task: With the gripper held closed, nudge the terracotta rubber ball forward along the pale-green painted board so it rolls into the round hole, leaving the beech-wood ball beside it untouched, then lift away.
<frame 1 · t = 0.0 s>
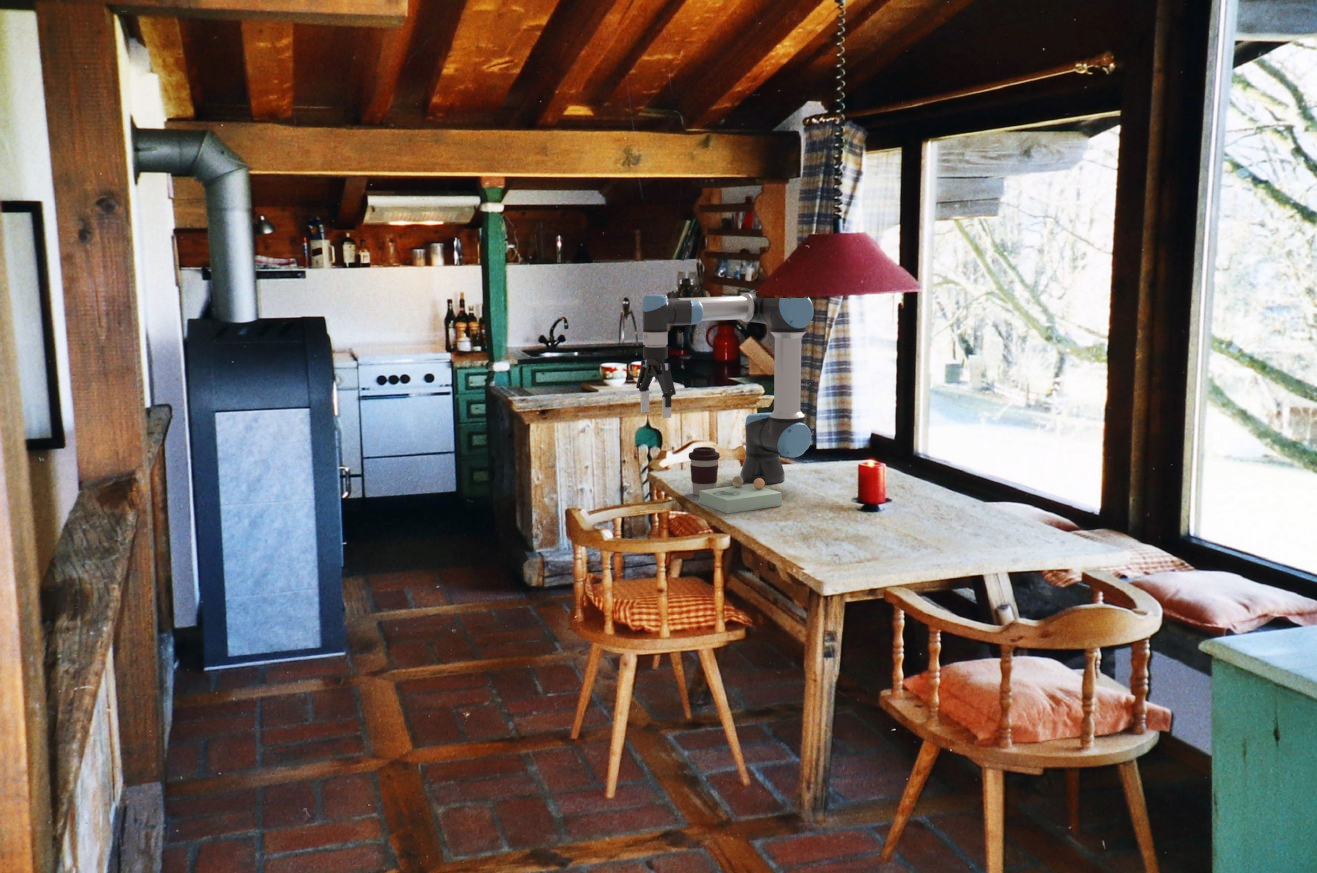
hand: (655, 415, 351), 28 cm above the table, fingers open, 13 cm apart
beech ball: (737, 481, 360), point 6 cm above the table, touching board
coffee cup: (704, 494, 369), on the table
terracotta ball: (759, 483, 357), point 6 cm above the table, touching board
board: (740, 504, 355), on the table
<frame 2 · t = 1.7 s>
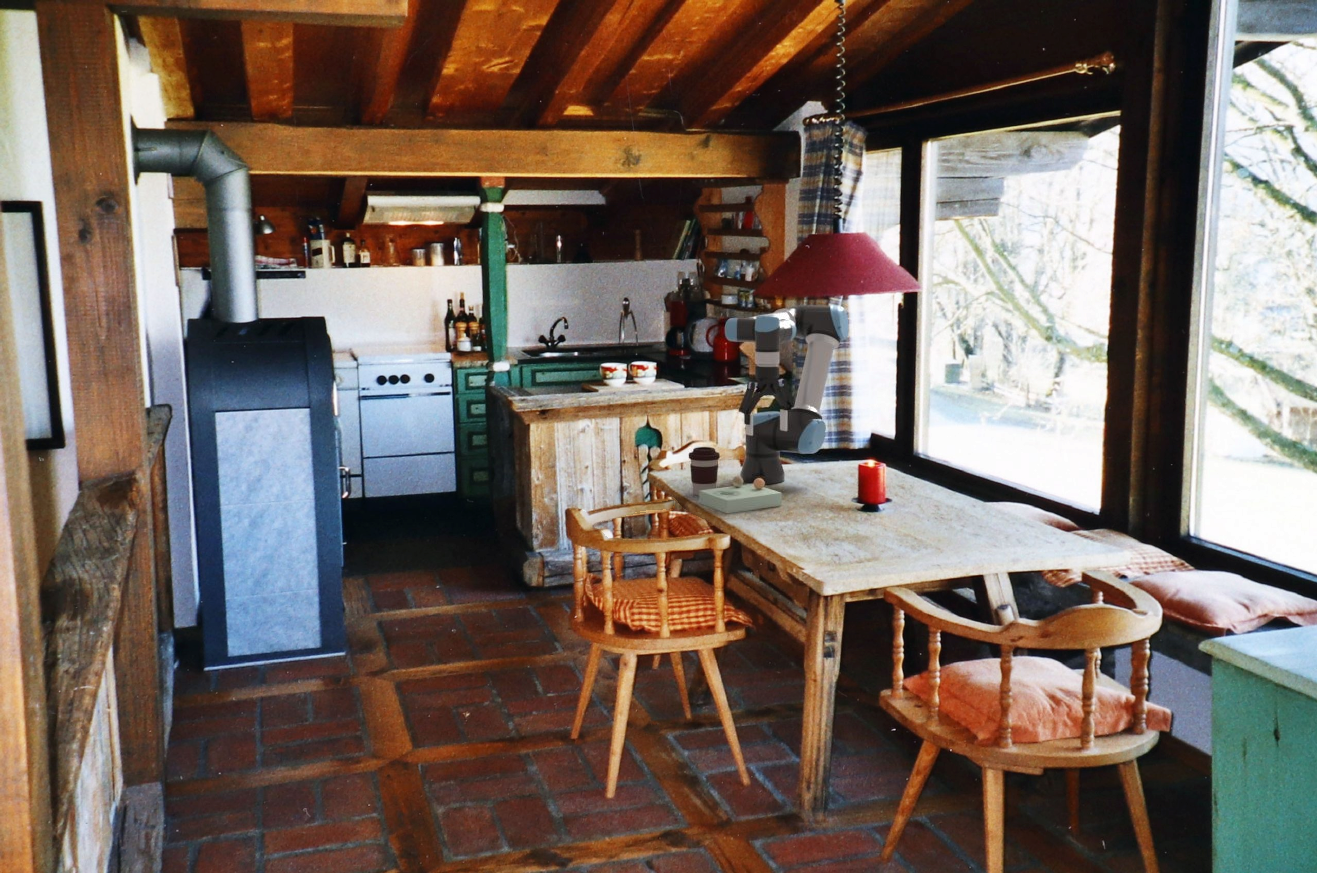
hand: (766, 432, 358), 21 cm above the table, fingers open, 13 cm apart
nothing on the table moved.
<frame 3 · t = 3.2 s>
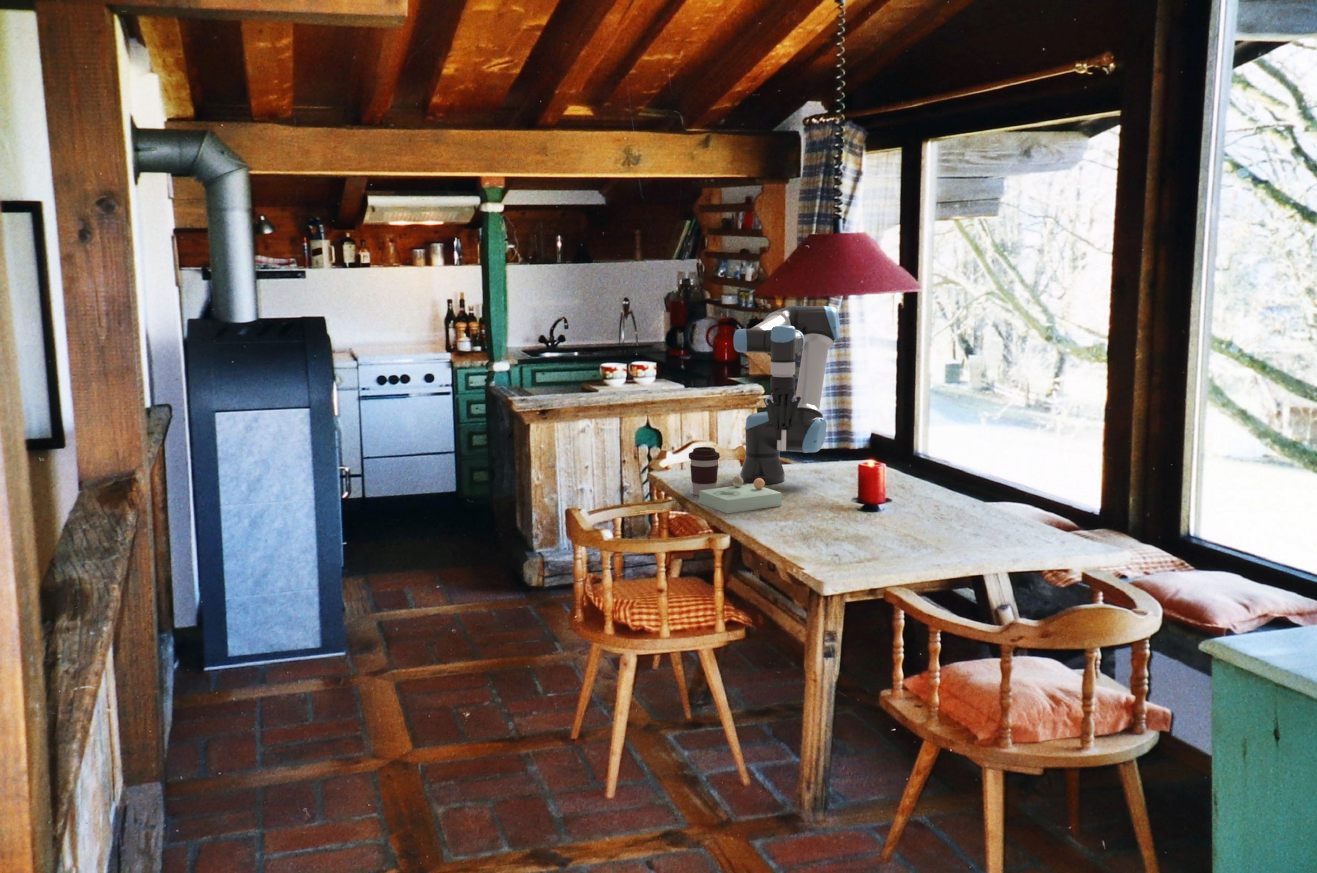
hand: (781, 450, 359), 16 cm above the table, fingers closed
nothing on the table moved.
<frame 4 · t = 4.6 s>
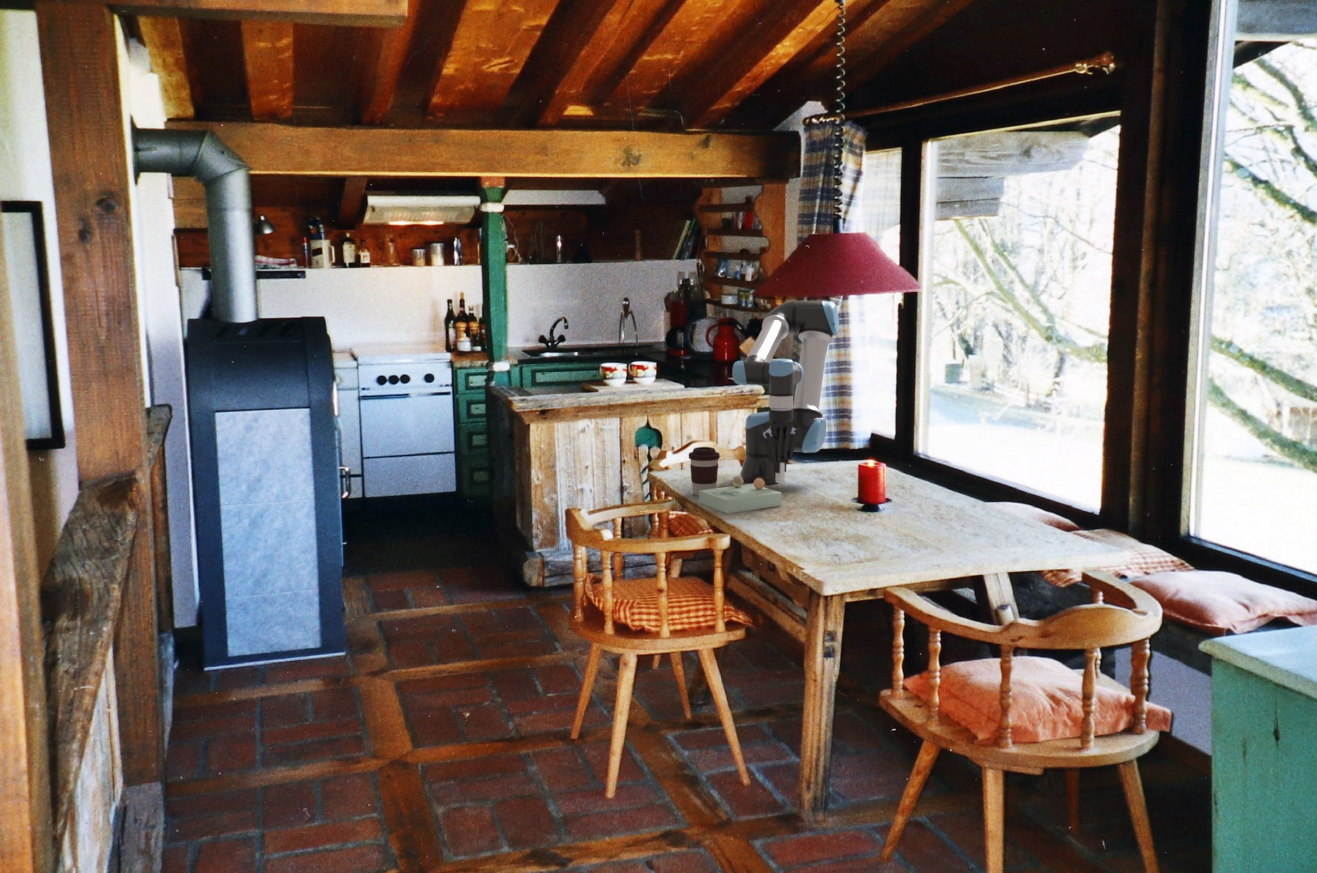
hand: (780, 482, 361), 5 cm above the table, fingers closed
nothing on the table moved.
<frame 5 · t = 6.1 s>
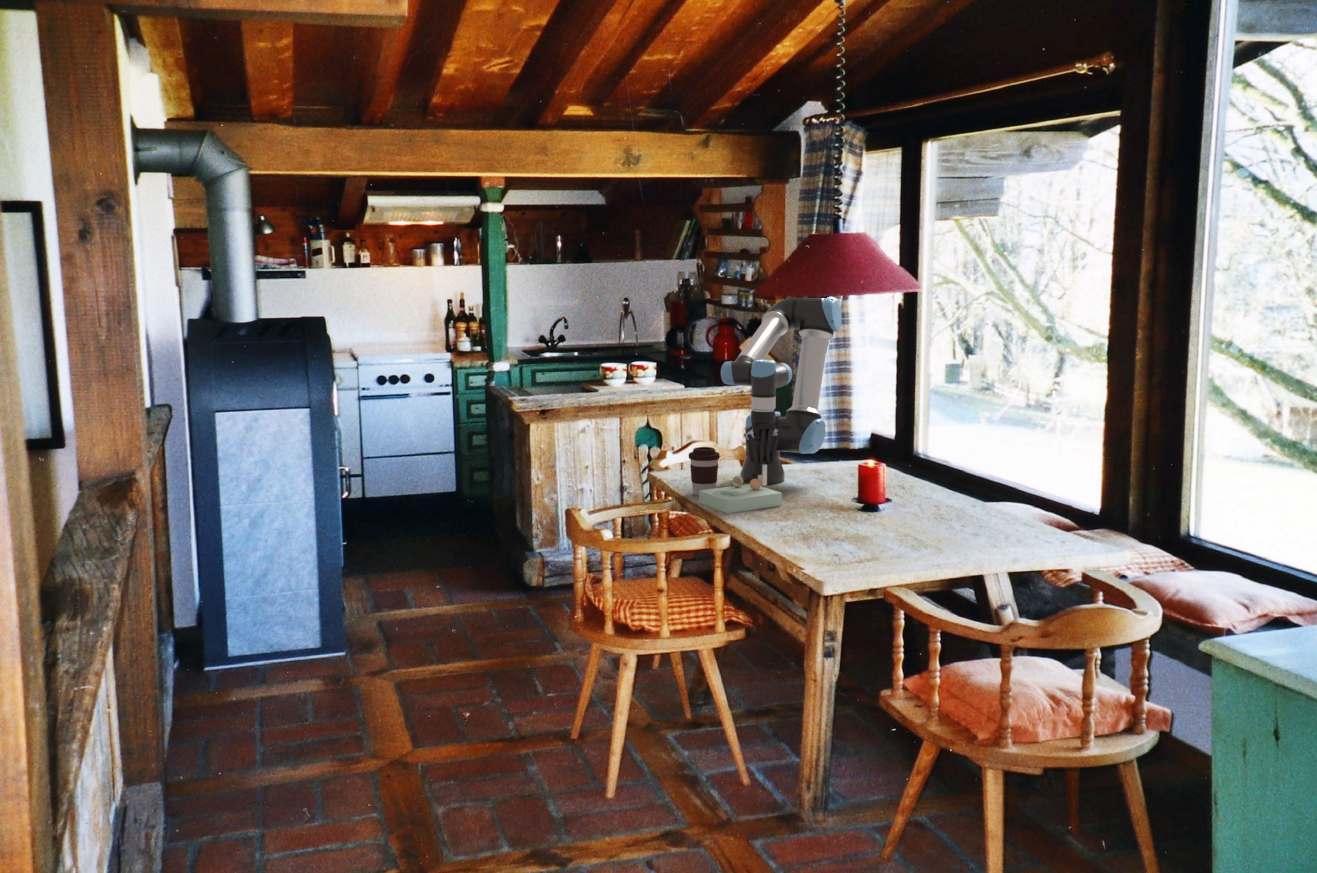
hand: (762, 484, 358), 5 cm above the table, fingers closed
terracotta ball: (755, 484, 356), point 6 cm above the table, tilted 46°, touching board
everything else where it was.
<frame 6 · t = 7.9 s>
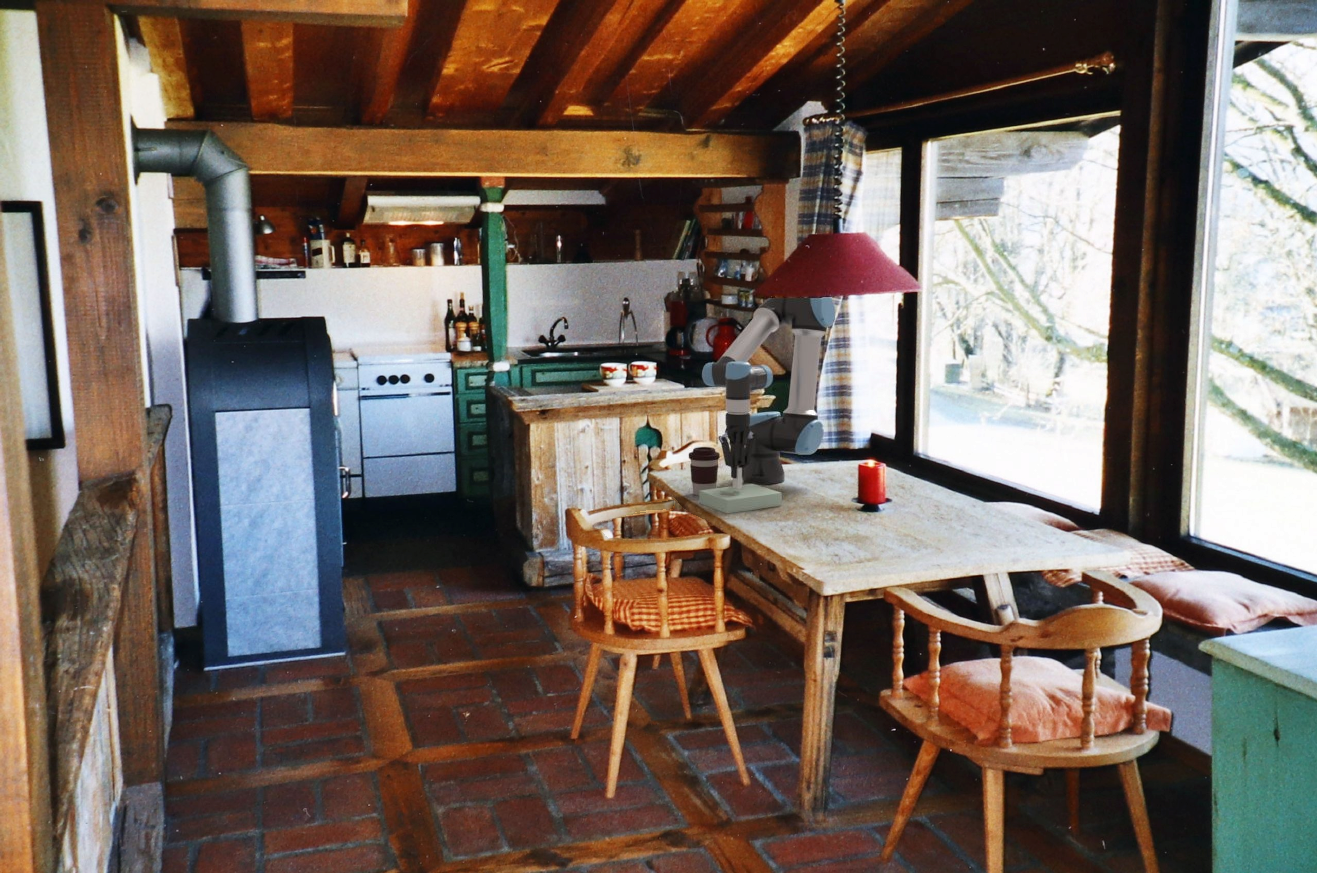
hand: (737, 488, 353), 5 cm above the table, fingers closed
terracotta ball: (726, 500, 352), point 2 cm above the table, tilted 48°
everything else where it was.
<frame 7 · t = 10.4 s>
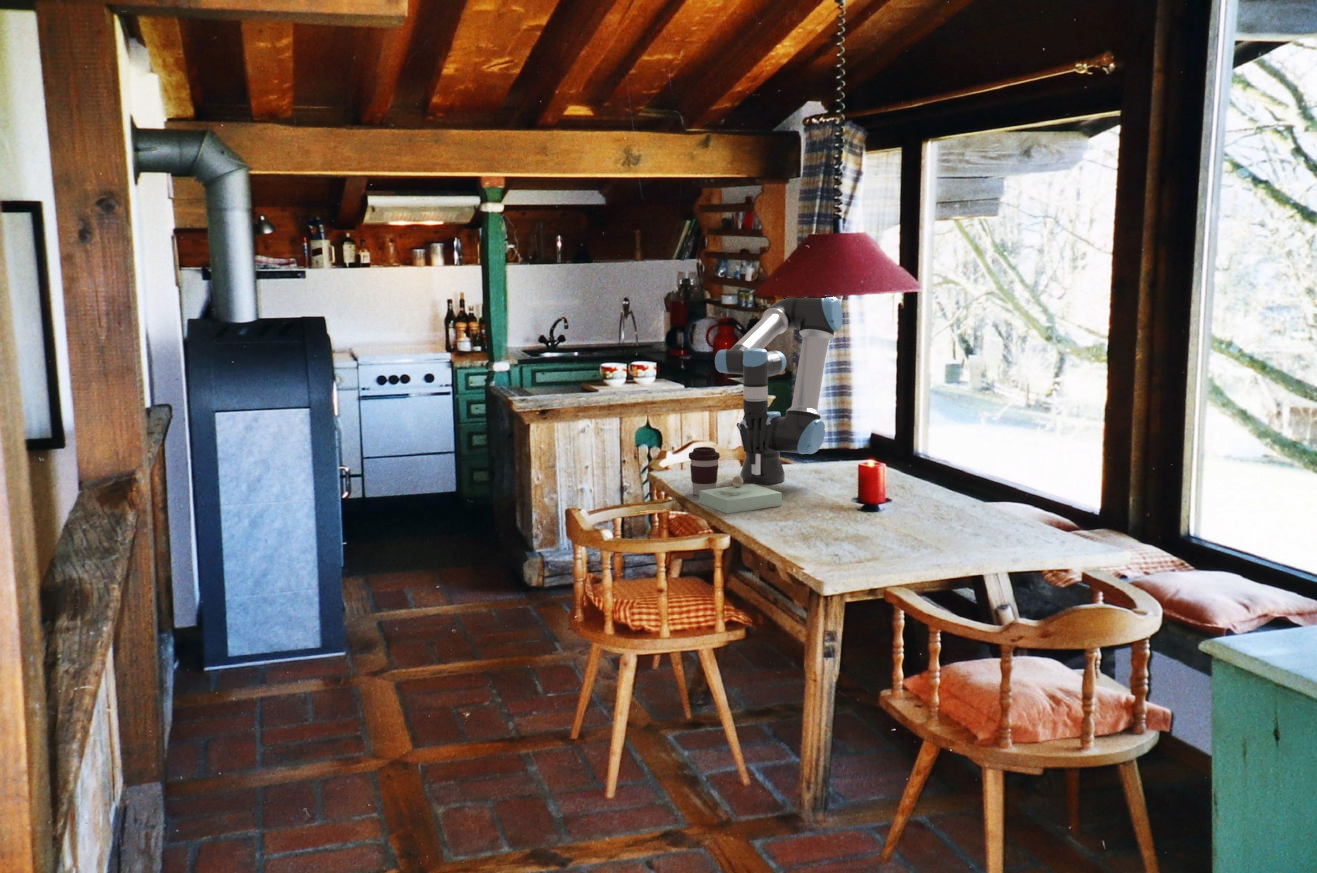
hand: (756, 473, 356), 9 cm above the table, fingers closed
terracotta ball: (727, 500, 352), point 2 cm above the table, tilted 38°
everything else where it was.
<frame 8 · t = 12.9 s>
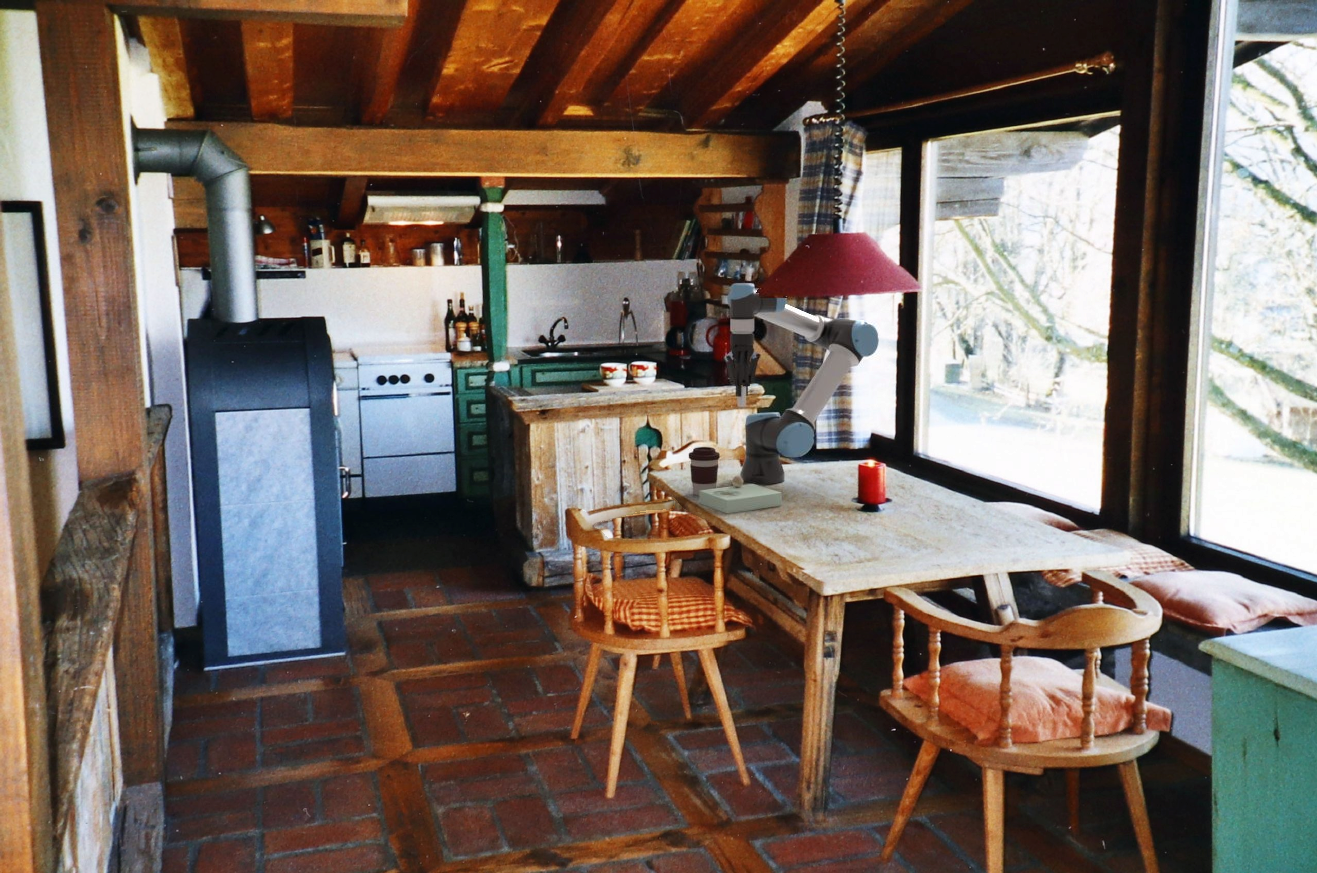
hand: (741, 406, 365), 28 cm above the table, fingers closed
nothing on the table moved.
at the end: terracotta ball 0.4 cm from the target spot in the board, point 1.7 cm above the board's base; beech ball moved 0.0 cm from its start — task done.
